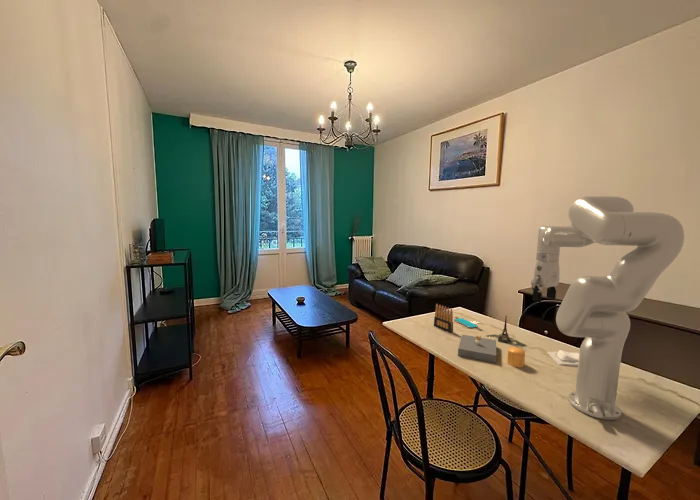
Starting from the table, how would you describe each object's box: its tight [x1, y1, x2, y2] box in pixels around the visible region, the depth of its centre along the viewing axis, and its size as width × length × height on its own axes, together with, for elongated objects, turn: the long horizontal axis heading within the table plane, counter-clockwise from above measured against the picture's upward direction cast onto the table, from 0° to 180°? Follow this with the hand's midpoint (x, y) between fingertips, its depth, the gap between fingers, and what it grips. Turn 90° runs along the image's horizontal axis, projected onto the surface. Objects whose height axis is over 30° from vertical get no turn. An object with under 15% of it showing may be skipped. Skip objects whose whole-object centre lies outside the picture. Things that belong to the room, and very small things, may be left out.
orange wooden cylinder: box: [506, 346, 526, 368], centre depth 120 cm, size 6×6×5 cm
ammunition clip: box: [433, 303, 454, 334], centre depth 154 cm, size 11×2×12 cm, turn 33°
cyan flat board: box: [453, 316, 483, 331], centre depth 162 cm, size 20×12×2 cm, turn 20°
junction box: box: [457, 334, 497, 364], centre depth 130 cm, size 16×14×7 cm
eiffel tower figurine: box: [485, 315, 528, 348], centre depth 140 cm, size 15×10×13 cm
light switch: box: [547, 349, 580, 368], centre depth 123 cm, size 11×4×13 cm
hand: (543, 299), depth 123 cm, fingers open, 9 cm apart
